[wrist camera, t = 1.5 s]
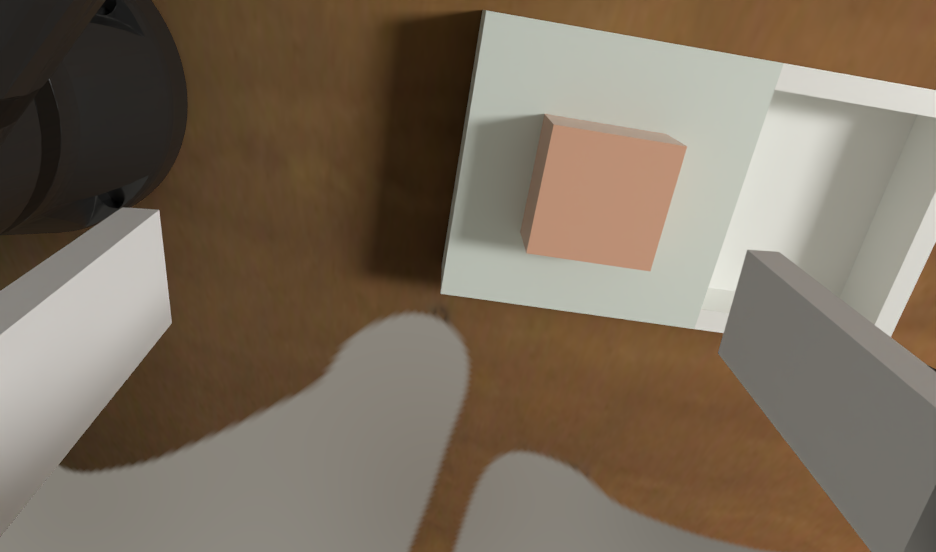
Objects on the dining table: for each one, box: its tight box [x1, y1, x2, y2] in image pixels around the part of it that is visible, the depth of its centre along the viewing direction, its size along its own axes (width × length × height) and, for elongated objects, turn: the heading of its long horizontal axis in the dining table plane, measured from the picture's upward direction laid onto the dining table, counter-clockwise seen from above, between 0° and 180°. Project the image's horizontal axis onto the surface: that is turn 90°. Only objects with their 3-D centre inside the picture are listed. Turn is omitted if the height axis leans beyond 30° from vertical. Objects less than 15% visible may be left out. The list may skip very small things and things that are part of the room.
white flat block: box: [441, 10, 784, 329], centre depth 34 cm, size 14×14×4 cm
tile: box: [520, 114, 687, 271], centre depth 30 cm, size 6×6×3 cm
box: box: [694, 63, 936, 337], centre depth 35 cm, size 11×14×4 cm
